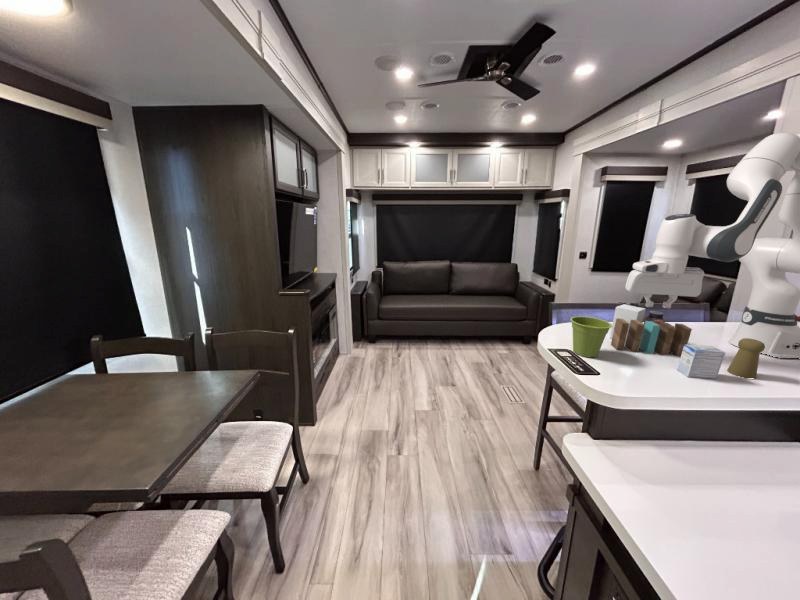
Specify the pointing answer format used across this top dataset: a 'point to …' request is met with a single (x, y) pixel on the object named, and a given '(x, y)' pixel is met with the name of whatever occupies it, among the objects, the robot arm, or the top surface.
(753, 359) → the cork
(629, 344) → the domino
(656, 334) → the domino
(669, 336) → the domino
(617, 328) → the domino
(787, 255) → the robot arm
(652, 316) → the supplement bottle
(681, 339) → the domino
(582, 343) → the plant pot
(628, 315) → the supplement box
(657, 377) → the top surface
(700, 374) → the medicine box
